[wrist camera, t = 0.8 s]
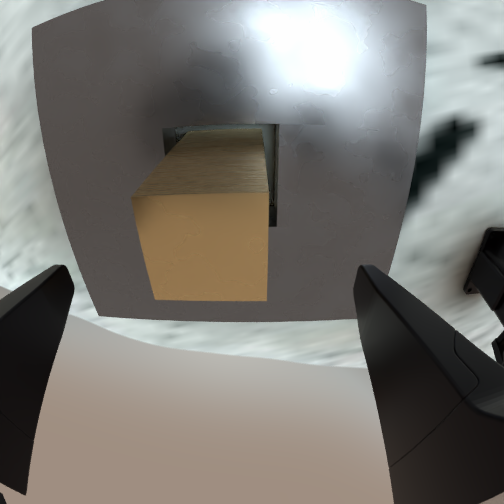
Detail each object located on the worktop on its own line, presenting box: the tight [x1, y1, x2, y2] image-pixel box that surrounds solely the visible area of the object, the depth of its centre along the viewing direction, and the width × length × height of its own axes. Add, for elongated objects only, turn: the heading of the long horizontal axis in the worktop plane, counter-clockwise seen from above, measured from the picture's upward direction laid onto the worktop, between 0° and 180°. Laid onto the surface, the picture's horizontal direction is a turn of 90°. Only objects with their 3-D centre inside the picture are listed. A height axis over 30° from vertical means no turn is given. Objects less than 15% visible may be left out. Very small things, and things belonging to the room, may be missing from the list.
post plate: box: [32, 0, 427, 322], centre depth 16 cm, size 20×20×2 cm
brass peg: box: [131, 129, 269, 301], centre depth 13 cm, size 4×4×9 cm
